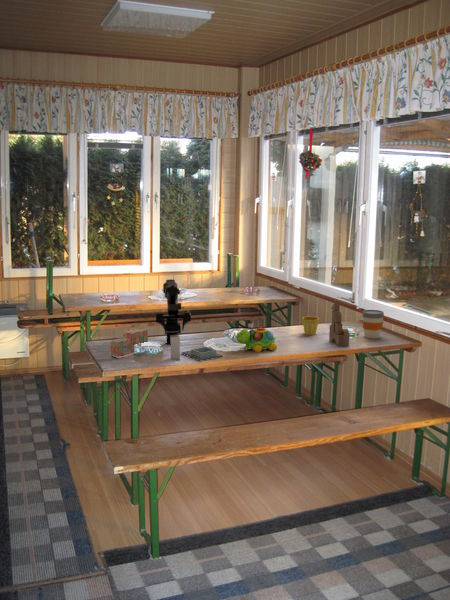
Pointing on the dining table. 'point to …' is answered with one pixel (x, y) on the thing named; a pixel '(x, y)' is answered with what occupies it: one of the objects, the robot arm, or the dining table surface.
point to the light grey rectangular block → (175, 347)
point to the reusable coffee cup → (372, 323)
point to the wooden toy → (338, 327)
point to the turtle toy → (257, 339)
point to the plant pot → (310, 324)
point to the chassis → (202, 353)
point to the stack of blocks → (128, 342)
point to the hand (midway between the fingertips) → (174, 330)
